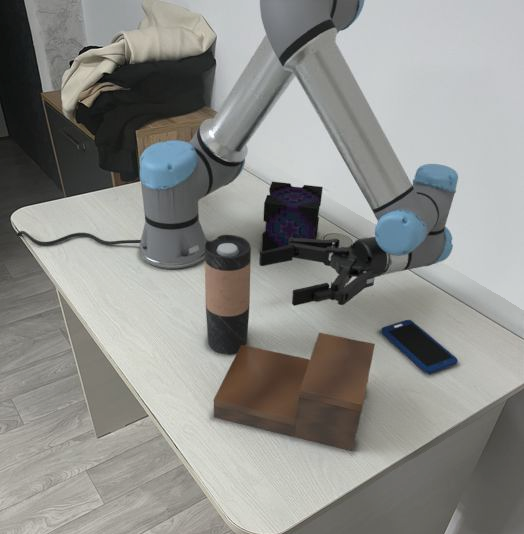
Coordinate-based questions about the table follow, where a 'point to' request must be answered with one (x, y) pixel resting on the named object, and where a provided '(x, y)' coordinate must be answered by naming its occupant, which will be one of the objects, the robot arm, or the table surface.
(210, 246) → the travel mug
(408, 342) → the cell phone
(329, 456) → the table surface
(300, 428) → the walnut shelf
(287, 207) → the energy cube
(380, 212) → the robot arm
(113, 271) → the table surface
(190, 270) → the table surface
